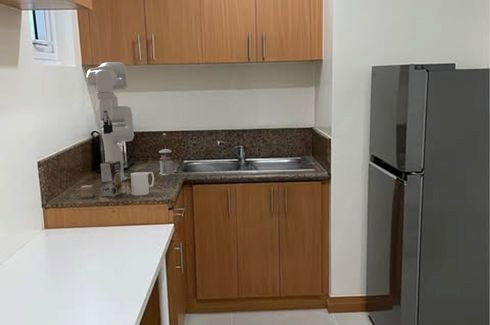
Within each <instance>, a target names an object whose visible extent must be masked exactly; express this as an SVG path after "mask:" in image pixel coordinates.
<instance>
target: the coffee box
mask: <svg viewBox="0 0 490 325" xmlns="http://www.w3.org/2000/svg"><path fill="white" fill-rule="evenodd" d="M100 176H101V177H100V178H101V189H102V190H101V192H102V197H116V196H119V195H121V194H122V193H123V181H122V178H121V163H120V161H109V162H102V163H100Z"/></svg>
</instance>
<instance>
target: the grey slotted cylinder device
mask: <svg viewBox="0 0 490 325" xmlns="http://www.w3.org/2000/svg"><path fill="white" fill-rule="evenodd" d="M162 135H163V136H164V137H166V136H167V133H165V132H164V133H162ZM158 153H159V154H161V155H160V156H161V157H160V158H159V159H160V160H159V171H160V172H159V173H158V175H159V174H161V175H160V176H170V175H169V174H172V175H175V174H176V173H175V172H174V168H173V167H174V166H173V165H174V164H173V163H174V162H173V159H172V157H171V156H169V157H166V154H169V153H173V151H172V150H171V149H169V148H166V146H164V149H161V150H159V151H158ZM163 154H164V155H163Z"/></svg>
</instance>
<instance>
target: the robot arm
mask: <svg viewBox="0 0 490 325" xmlns="http://www.w3.org/2000/svg"><path fill="white" fill-rule="evenodd" d="M86 82H87V84H88V86H90V87H93V88H94V87H96V94H97V98H96V99H97V100H98V101H99V120H100V121H101V122H102V124H103V125H102V129H101V136H102V141H103V148H104V158H105V160H104V161H105V162H109V161H120V163H121V178H122V182H123V181H127V176H125V175H124V174H125V173H124V164H123V163H124V162H123V161H124V160H123V149H122V147H121V146H120V145H119V144H118V143H121V142H131V141H133V139H134V137H135V136H134V121H133V112H132V109H131V107H130V106H128V105H119V100H118V96H117V95H116V94H115V93H114V90H115V91H117V90H126V89H127V88H128V85H129V78H128V71H127V66H126V65H125V63H123V62H120V61H119V62H116V61H114V62H112V61H111V62H103V63H101V64H99V66H98V67H93V68H90V69H88V70H87V73H86ZM121 123H122V124H121ZM105 162H104V163H105Z"/></svg>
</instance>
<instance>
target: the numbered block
mask: <svg viewBox="0 0 490 325" xmlns="http://www.w3.org/2000/svg"><path fill="white" fill-rule="evenodd" d="M79 189H80V198H83V199H86V198H93V196H95V195H94V185H93V184H89V185H81V186H80V188H79Z"/></svg>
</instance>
